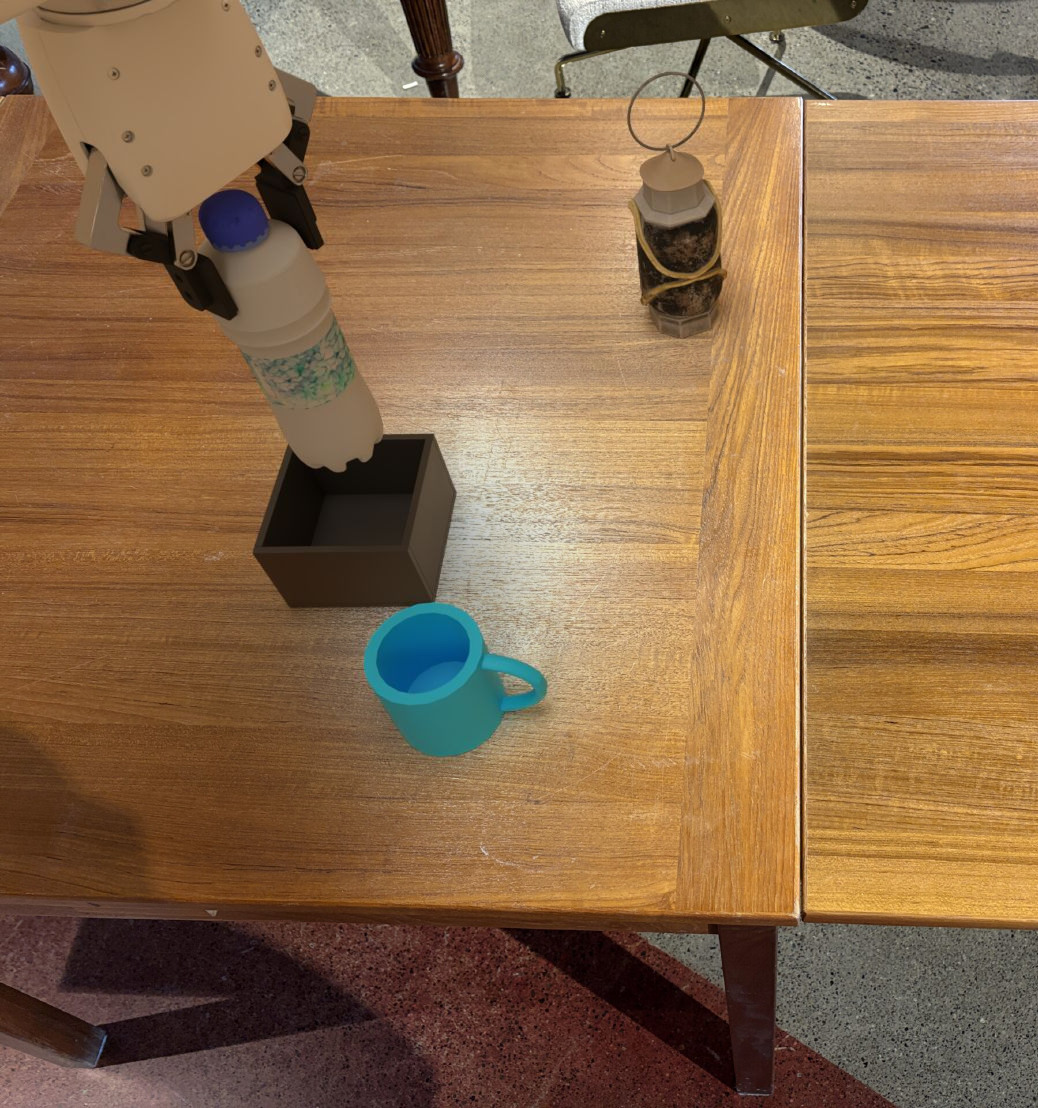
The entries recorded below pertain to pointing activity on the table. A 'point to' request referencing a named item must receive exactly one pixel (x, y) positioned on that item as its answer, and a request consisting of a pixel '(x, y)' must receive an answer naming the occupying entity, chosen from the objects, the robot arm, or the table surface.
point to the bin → (360, 527)
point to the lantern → (677, 237)
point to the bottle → (289, 332)
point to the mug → (443, 679)
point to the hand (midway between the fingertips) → (259, 272)
